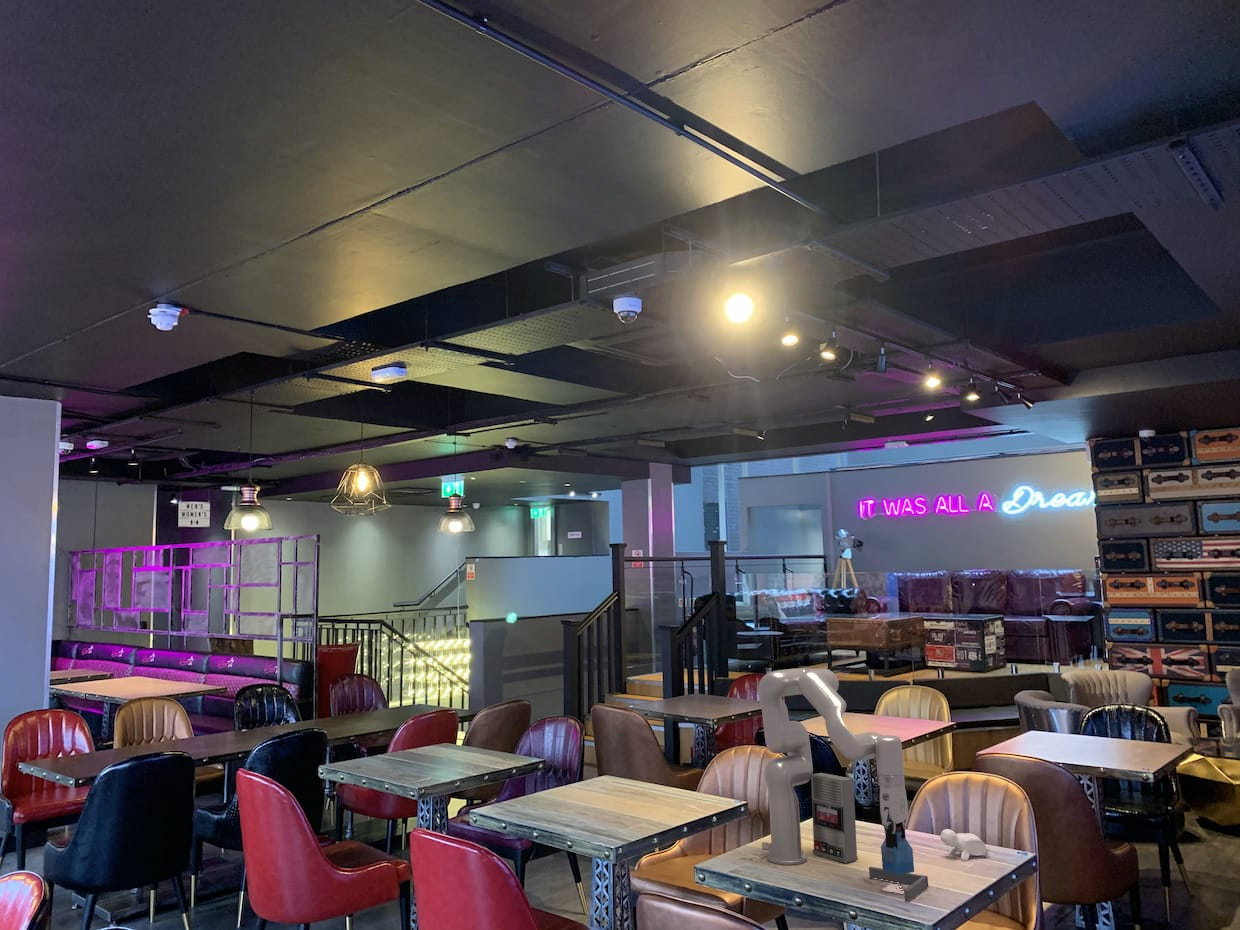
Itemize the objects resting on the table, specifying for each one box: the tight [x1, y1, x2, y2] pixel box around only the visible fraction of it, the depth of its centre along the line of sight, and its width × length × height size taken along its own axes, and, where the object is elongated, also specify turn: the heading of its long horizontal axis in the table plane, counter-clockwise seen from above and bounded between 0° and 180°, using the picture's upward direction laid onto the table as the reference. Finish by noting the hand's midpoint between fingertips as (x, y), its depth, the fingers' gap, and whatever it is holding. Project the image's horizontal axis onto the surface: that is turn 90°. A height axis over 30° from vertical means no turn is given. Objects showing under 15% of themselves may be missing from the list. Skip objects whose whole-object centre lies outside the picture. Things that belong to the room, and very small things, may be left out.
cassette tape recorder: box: [810, 772, 859, 864], centre depth 285 cm, size 14×6×25 cm, turn 35°
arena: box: [868, 866, 929, 903], centre depth 252 cm, size 17×15×3 cm
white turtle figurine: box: [940, 828, 990, 862], centre depth 281 cm, size 9×8×15 cm
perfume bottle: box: [880, 824, 915, 875], centre depth 253 cm, size 6×6×12 cm
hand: (896, 844), depth 253 cm, fingers closed on perfume bottle, 5 cm apart
